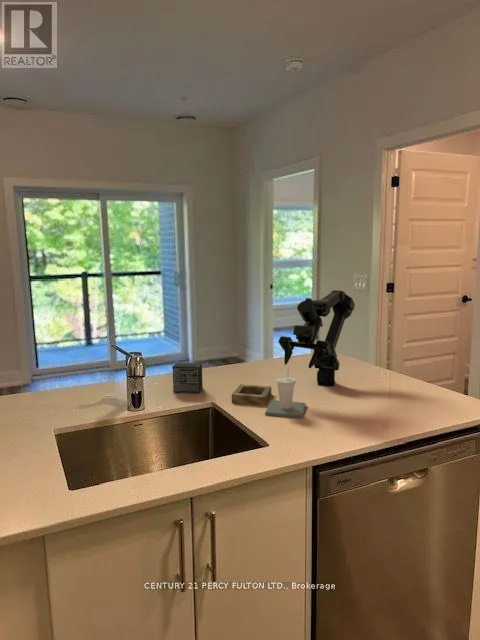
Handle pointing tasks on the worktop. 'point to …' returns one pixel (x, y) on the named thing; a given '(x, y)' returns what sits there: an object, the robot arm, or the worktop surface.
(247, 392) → the holder
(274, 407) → the coaster
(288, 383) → the smoothie
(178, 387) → the small box
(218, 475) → the worktop surface
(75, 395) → the worktop surface
